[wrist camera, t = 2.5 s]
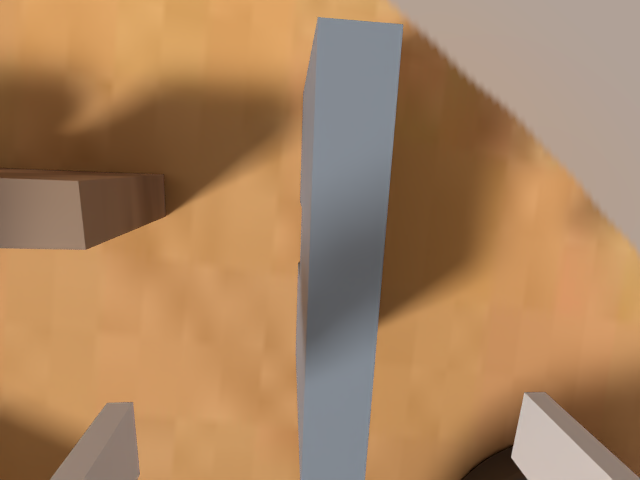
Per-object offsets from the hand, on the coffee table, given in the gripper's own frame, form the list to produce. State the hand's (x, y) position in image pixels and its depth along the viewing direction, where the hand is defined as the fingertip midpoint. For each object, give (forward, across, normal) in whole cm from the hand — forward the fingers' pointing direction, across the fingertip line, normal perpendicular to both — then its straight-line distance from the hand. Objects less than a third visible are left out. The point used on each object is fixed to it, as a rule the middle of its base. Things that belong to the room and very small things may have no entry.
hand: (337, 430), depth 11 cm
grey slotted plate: (+11, 0, -4) cm, 12 cm away
